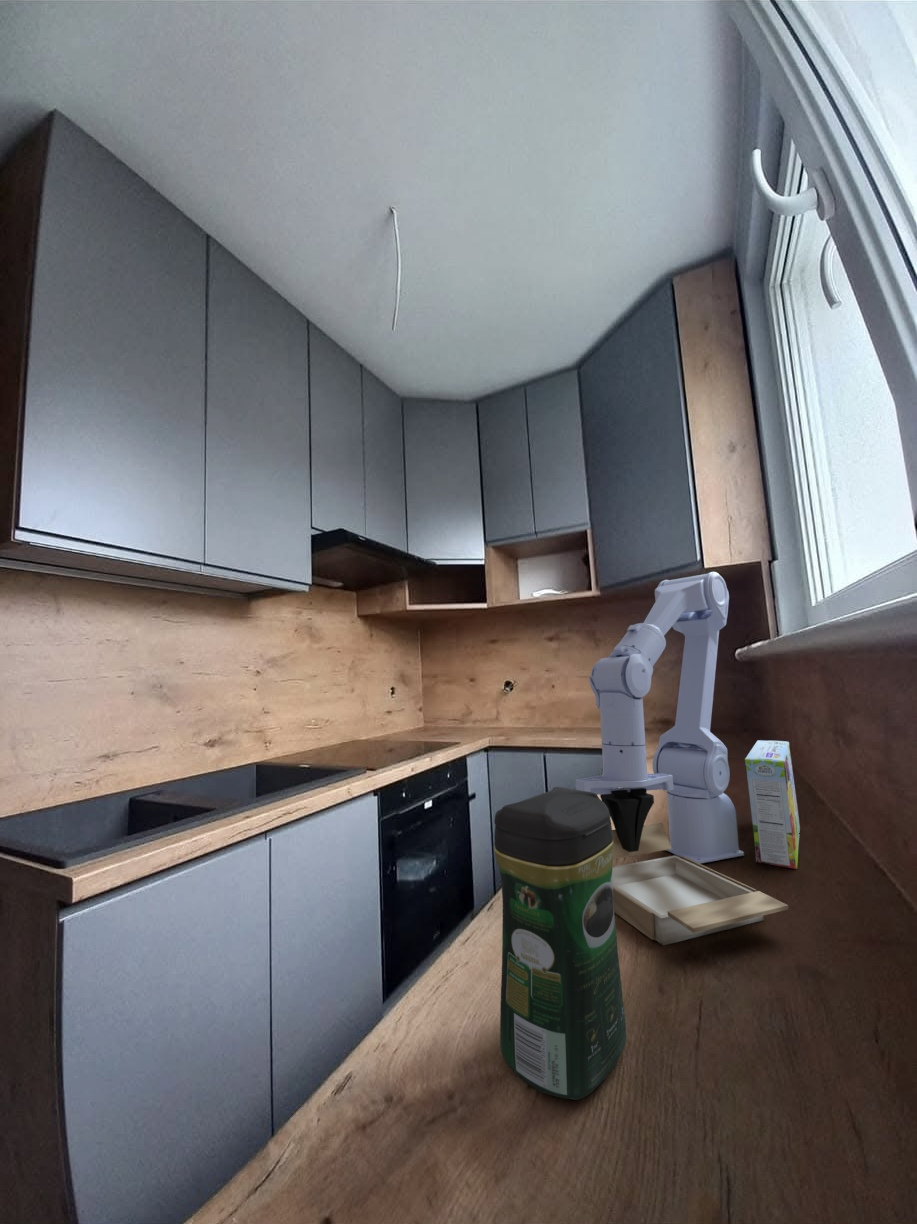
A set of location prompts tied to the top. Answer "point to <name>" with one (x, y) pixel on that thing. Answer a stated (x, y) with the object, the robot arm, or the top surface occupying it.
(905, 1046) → the top surface
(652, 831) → the flap
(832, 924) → the top surface
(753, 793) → the snack box
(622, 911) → the carton
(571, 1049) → the coffee jar
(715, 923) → the flap
